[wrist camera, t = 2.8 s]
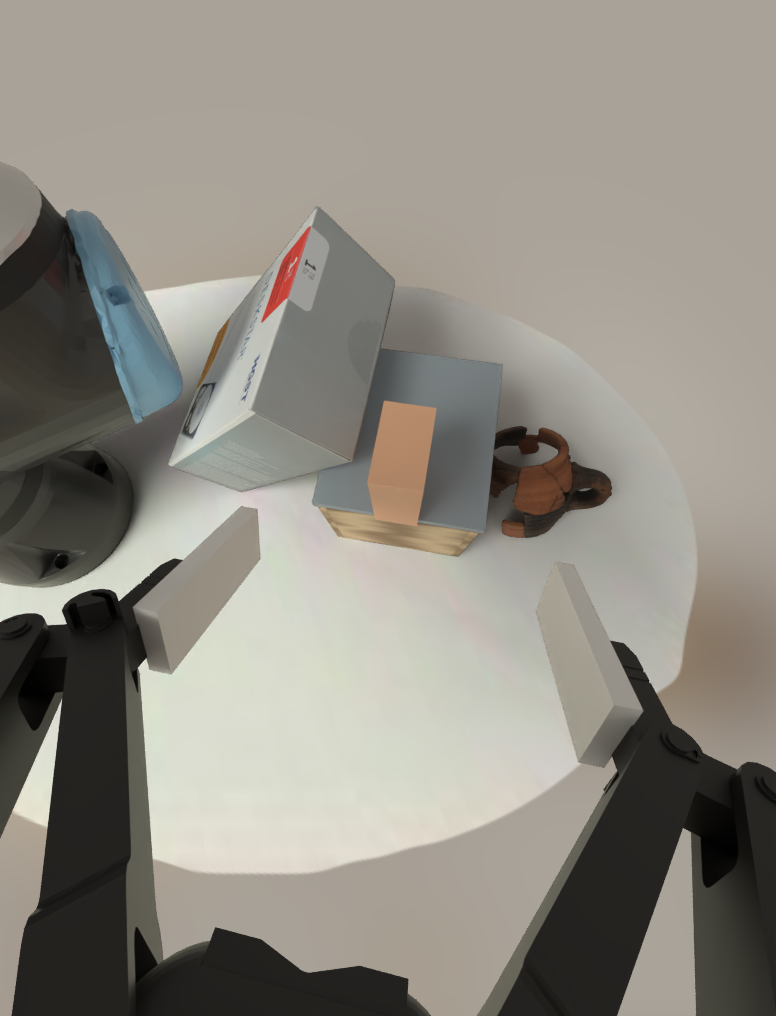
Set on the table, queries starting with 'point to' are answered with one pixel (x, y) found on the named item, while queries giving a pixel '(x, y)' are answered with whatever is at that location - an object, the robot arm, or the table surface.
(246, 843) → the table surface
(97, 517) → the robot arm
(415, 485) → the lid
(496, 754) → the table surface
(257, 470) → the hard drive box
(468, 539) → the carton
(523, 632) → the table surface
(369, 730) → the table surface
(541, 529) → the pottery mug
